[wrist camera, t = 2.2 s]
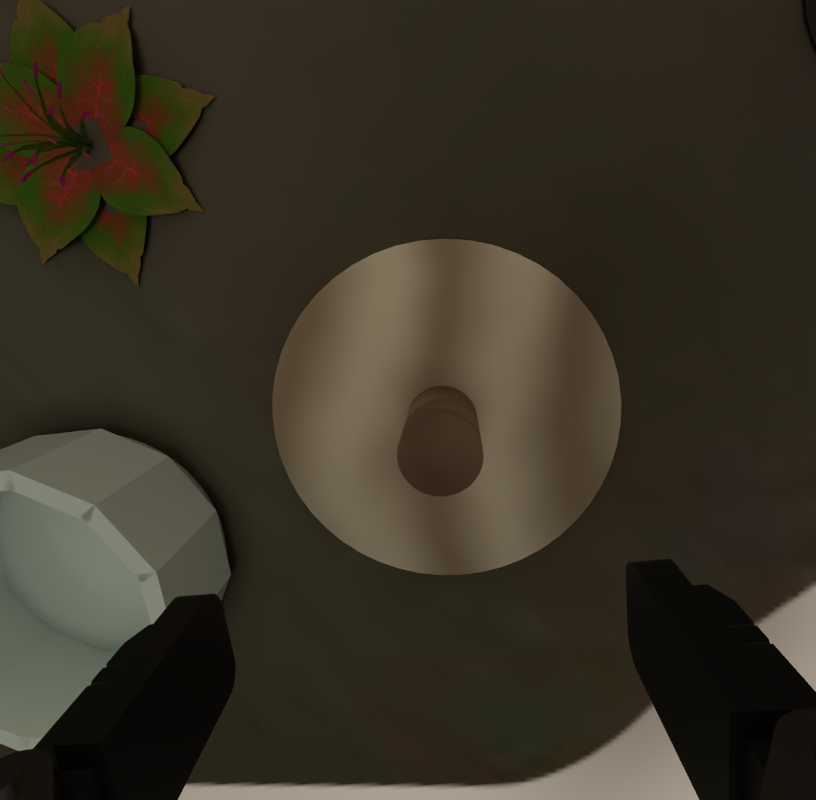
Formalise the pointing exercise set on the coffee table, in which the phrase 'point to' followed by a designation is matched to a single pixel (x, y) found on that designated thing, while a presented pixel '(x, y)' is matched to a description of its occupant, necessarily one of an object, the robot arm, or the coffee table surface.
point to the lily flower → (77, 102)
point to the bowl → (90, 563)
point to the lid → (446, 406)
